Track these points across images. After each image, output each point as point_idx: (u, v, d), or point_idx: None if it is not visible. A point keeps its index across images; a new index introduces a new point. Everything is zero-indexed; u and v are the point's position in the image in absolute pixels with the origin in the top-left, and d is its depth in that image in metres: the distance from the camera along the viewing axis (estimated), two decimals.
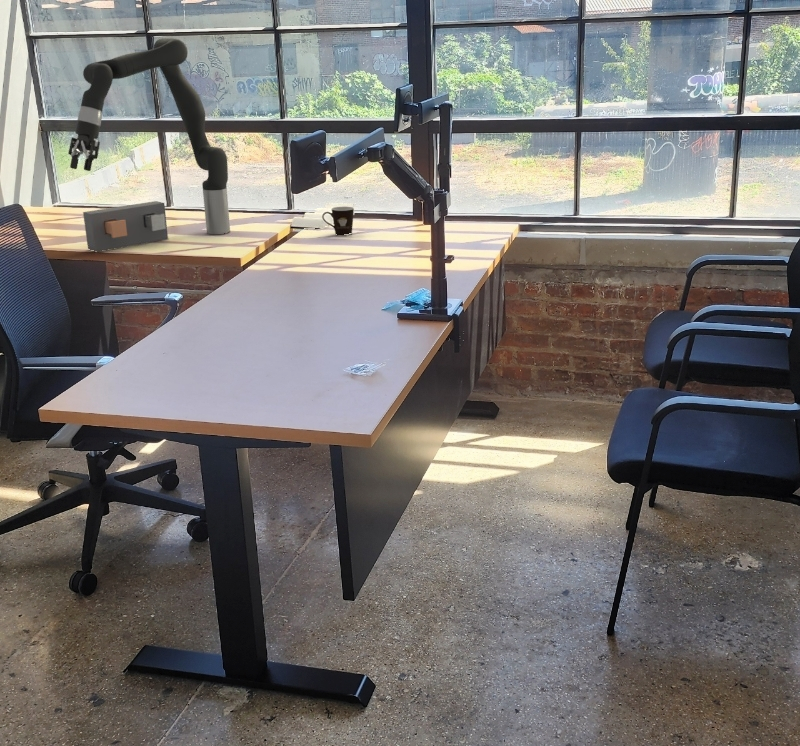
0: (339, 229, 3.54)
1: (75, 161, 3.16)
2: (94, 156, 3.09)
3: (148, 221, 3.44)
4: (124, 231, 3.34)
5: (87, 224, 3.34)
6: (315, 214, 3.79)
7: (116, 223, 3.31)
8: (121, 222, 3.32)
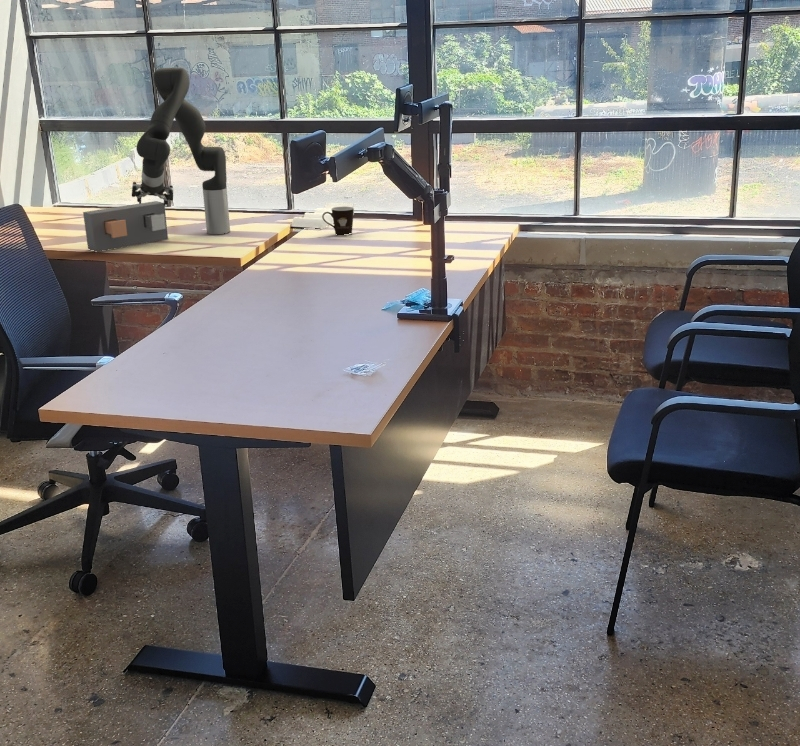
0: (339, 229, 3.54)
1: None
2: None
3: (148, 221, 3.44)
4: (124, 231, 3.34)
5: (87, 224, 3.34)
6: (315, 214, 3.79)
7: (116, 223, 3.31)
8: (121, 222, 3.32)
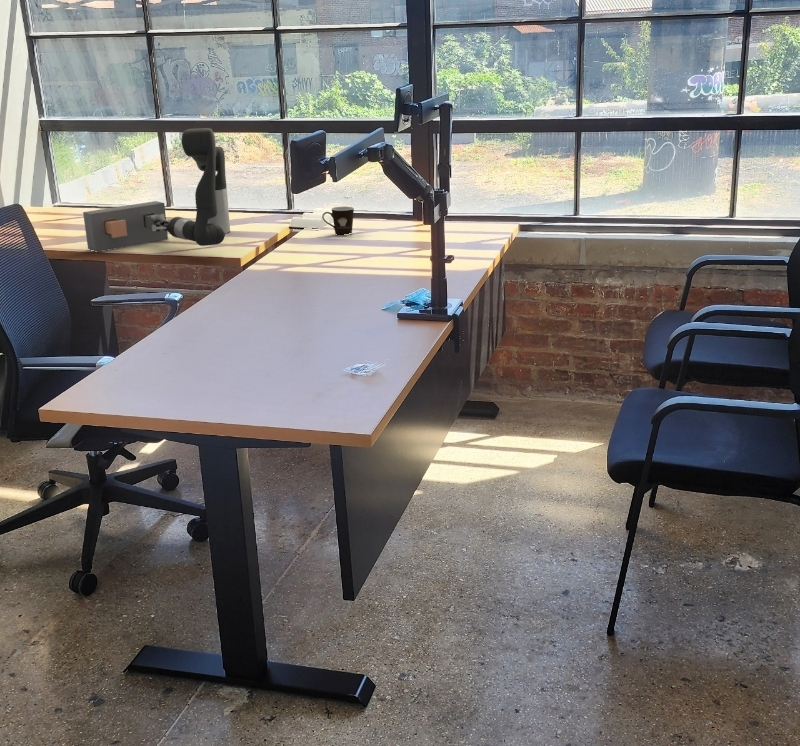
0: (339, 229, 3.54)
1: None
2: None
3: (148, 221, 3.44)
4: (124, 231, 3.34)
5: (87, 224, 3.34)
6: (314, 214, 3.79)
7: (116, 223, 3.31)
8: (121, 222, 3.32)
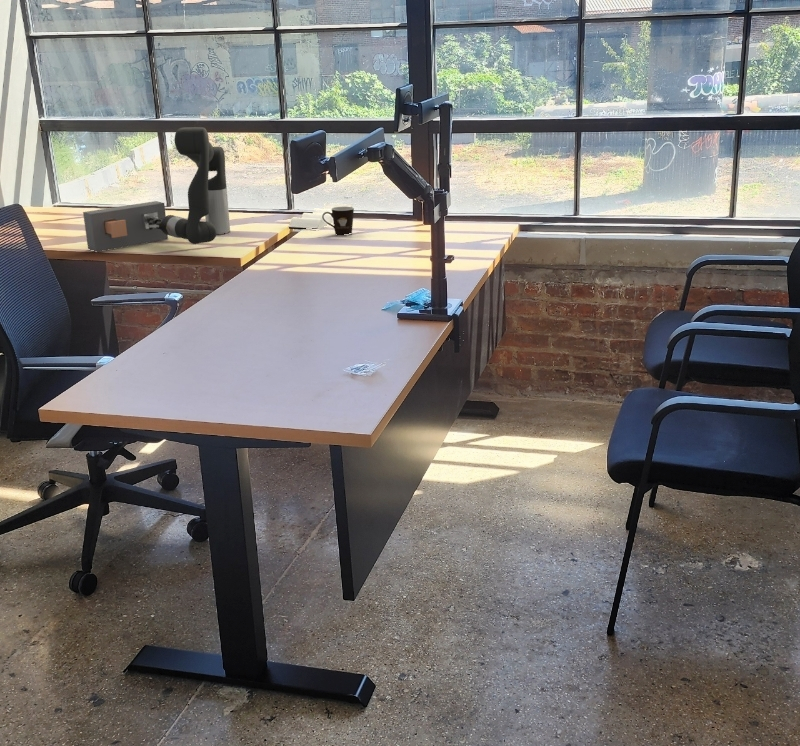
0: (339, 229, 3.54)
1: None
2: None
3: None
4: (124, 231, 3.34)
5: (87, 224, 3.34)
6: (313, 214, 3.79)
7: (116, 223, 3.31)
8: (121, 222, 3.32)
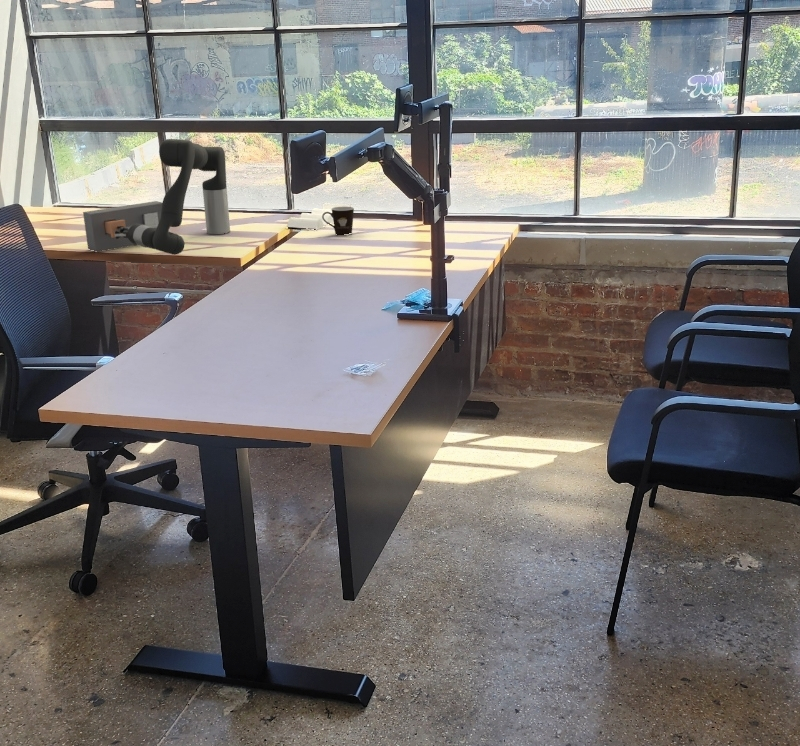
0: (339, 229, 3.54)
1: None
2: None
3: None
4: None
5: (87, 224, 3.34)
6: (311, 215, 3.78)
7: (115, 223, 3.31)
8: (120, 222, 3.32)
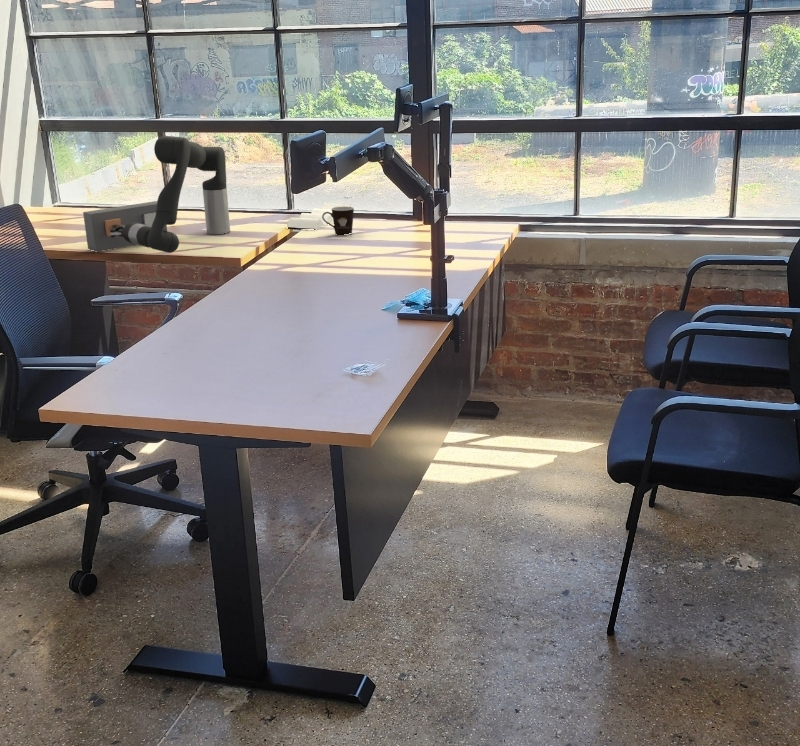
0: (339, 229, 3.54)
1: None
2: None
3: None
4: None
5: (87, 224, 3.34)
6: (311, 215, 3.78)
7: (111, 222, 3.33)
8: (116, 221, 3.35)
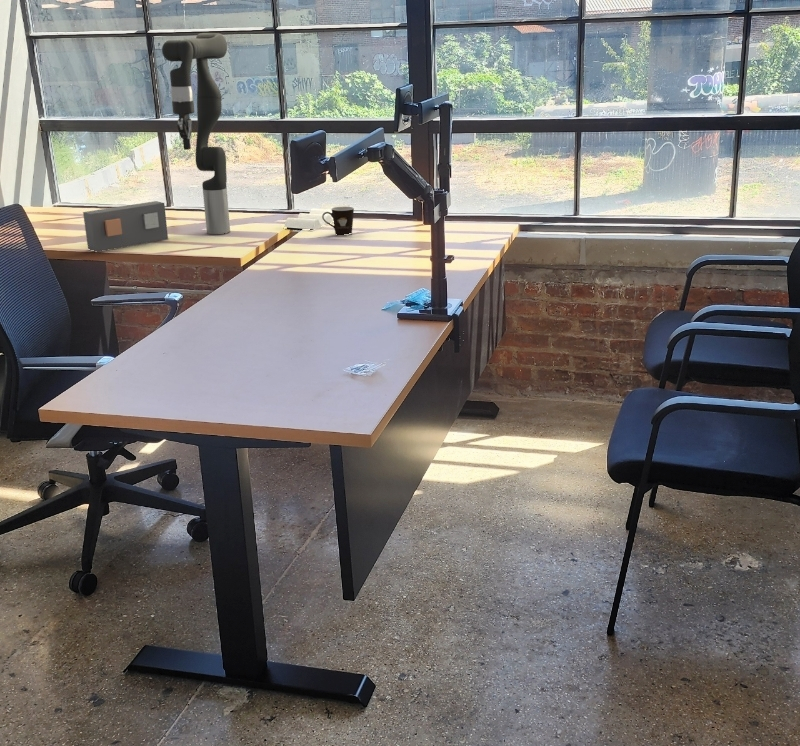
0: (339, 229, 3.54)
1: None
2: None
3: None
4: (119, 230, 3.36)
5: (87, 224, 3.34)
6: (309, 215, 3.77)
7: (111, 222, 3.33)
8: (116, 221, 3.35)
